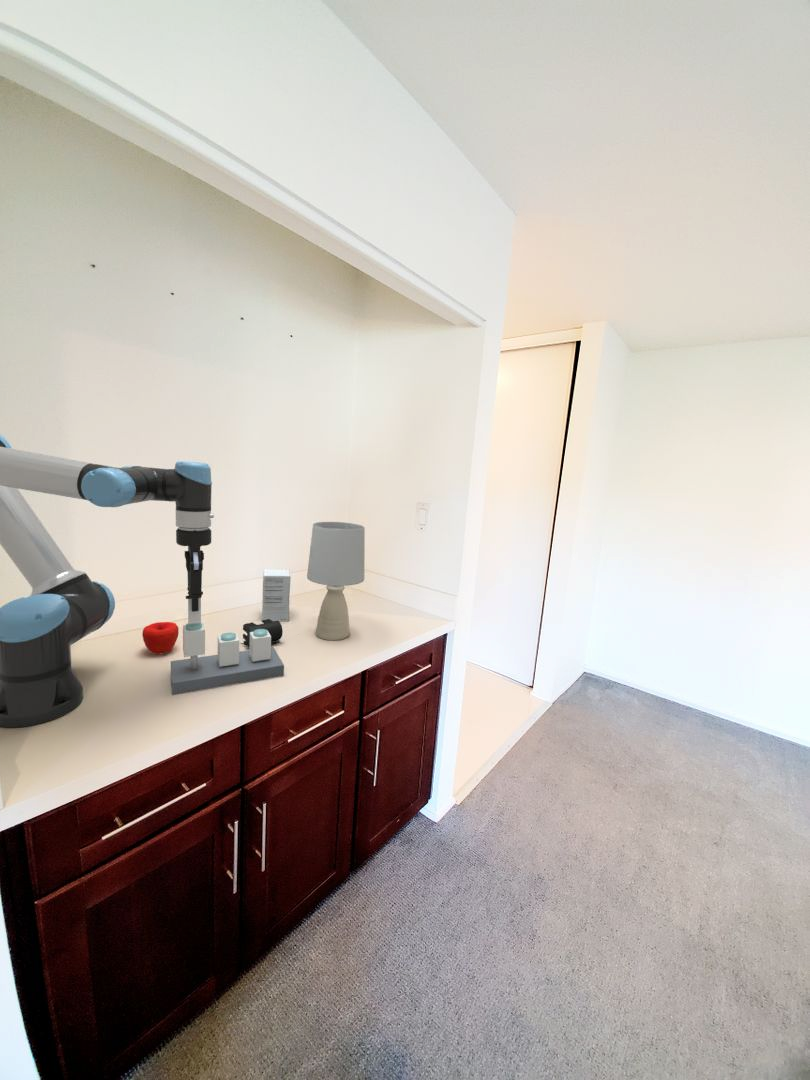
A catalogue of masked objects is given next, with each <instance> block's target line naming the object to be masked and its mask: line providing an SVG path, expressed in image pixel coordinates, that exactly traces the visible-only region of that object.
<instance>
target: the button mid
mask: <svg viewBox="0 0 810 1080" xmlns="http://www.w3.org/2000/svg"><path fill="white" fill-rule="evenodd" d="M239 652H240V639H239V637H238V634H237V633H235V632H224V633H222V634H221V635H217V655H218V656H217V659H218V662H219V666H220V667H221V666H227V665H234V664H239Z"/></svg>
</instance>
